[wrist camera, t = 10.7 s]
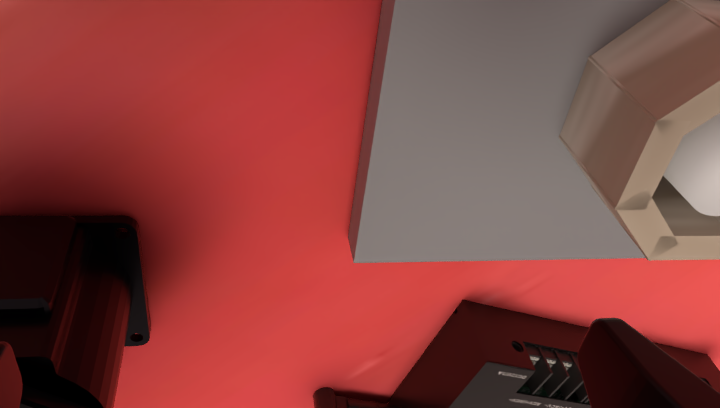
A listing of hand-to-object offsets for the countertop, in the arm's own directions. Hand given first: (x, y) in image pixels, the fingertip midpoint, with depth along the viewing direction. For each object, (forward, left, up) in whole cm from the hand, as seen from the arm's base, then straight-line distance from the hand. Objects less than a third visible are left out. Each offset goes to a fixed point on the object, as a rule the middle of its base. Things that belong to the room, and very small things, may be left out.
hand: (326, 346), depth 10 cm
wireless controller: (-19, -13, -13) cm, 26 cm away
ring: (-1, -13, -10) cm, 17 cm away
